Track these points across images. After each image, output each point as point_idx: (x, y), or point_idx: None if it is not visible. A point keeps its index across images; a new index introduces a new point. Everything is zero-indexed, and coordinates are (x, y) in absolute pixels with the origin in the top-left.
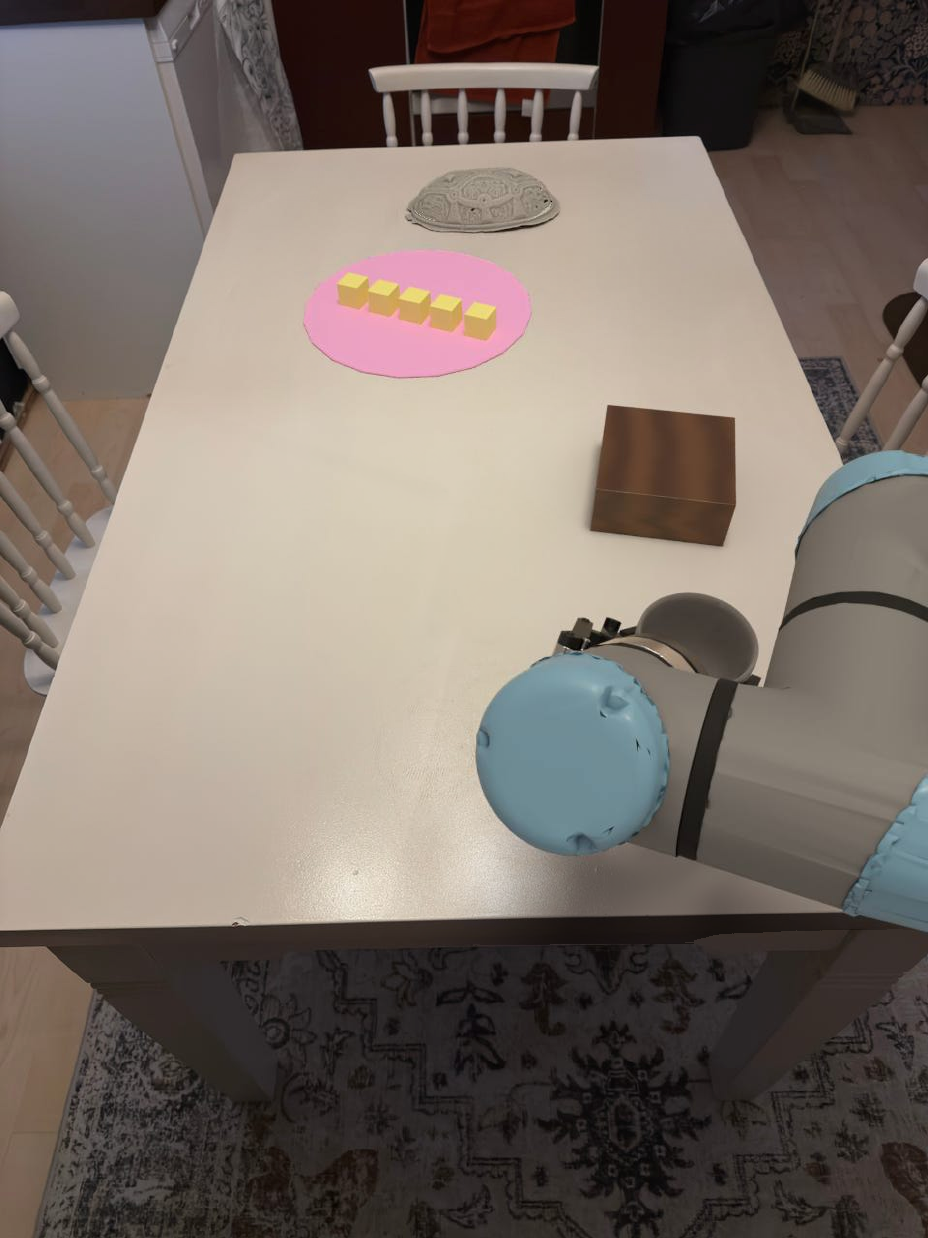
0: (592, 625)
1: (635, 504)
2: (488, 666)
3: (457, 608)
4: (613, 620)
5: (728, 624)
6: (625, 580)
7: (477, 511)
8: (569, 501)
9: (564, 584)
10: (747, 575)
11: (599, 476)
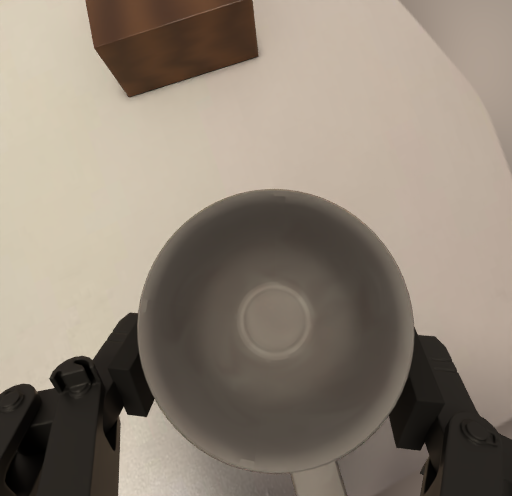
0: (11, 437)
1: (148, 47)
2: (84, 301)
3: (32, 247)
4: (71, 373)
5: (314, 220)
6: (181, 138)
7: (15, 126)
8: (99, 74)
9: (125, 170)
10: (292, 78)
11: (92, 29)
